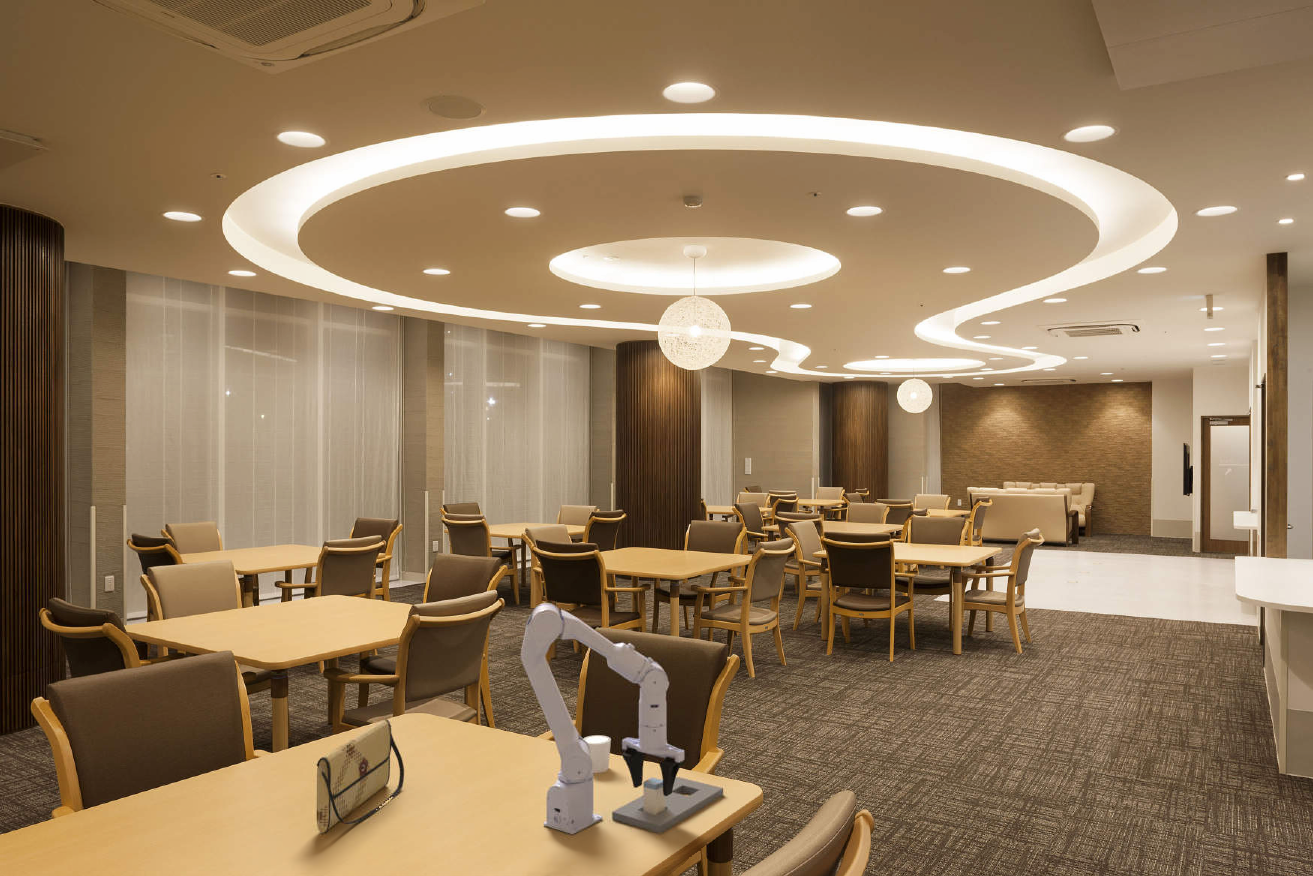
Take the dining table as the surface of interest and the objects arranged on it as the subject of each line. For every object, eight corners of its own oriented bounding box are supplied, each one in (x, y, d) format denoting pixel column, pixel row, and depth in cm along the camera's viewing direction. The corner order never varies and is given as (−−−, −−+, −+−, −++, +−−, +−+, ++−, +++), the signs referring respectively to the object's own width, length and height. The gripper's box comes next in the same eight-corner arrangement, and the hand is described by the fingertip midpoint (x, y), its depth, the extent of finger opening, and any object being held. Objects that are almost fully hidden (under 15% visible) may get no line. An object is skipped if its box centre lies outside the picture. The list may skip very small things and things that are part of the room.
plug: (656, 820, 170) (655, 785, 170) (643, 816, 172) (643, 782, 172) (665, 815, 173) (665, 780, 173) (652, 811, 174) (652, 777, 175)
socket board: (660, 833, 163) (660, 826, 164) (612, 819, 170) (612, 811, 170) (723, 795, 183) (723, 788, 183) (678, 783, 190) (677, 777, 190)
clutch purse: (344, 839, 162) (345, 761, 163) (310, 837, 163) (311, 759, 164) (411, 783, 191) (412, 717, 192) (383, 782, 192) (383, 716, 193)
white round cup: (613, 764, 203) (612, 735, 203) (608, 774, 196) (608, 744, 197) (585, 763, 204) (585, 734, 204) (579, 773, 197) (579, 743, 197)
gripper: (692, 724, 172) (692, 792, 171) (636, 713, 180) (636, 777, 180) (673, 733, 166) (673, 803, 165) (616, 721, 174) (615, 787, 174)
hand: (652, 790), depth 172 cm, fingers open, 7 cm apart
